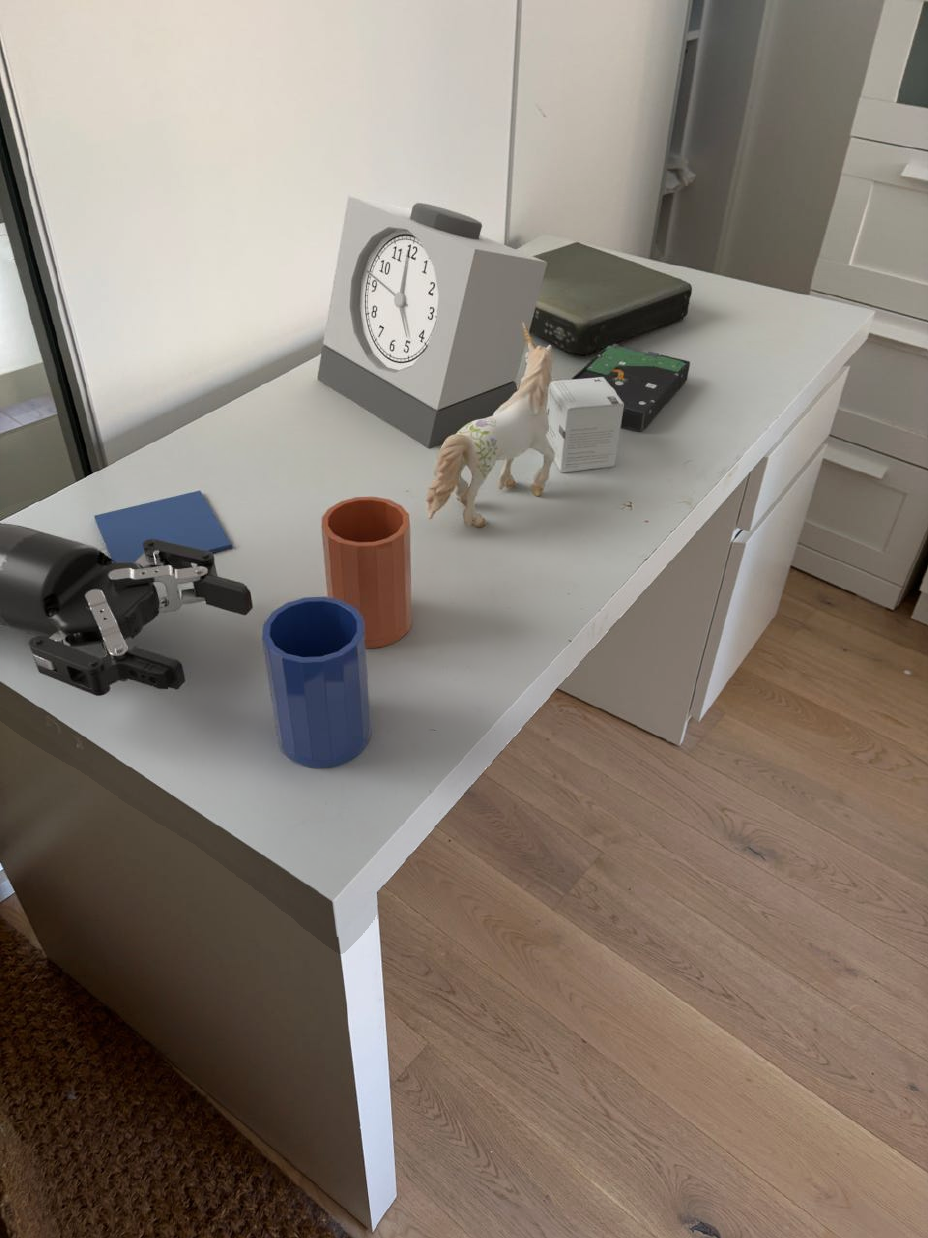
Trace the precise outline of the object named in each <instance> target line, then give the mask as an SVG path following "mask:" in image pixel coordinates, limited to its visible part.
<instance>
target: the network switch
mask: <svg viewBox="0 0 928 1238" xmlns="http://www.w3.org/2000/svg"><path fill="white" fill-rule="evenodd" d="M532 256H533V257H535V258H538V259H540V260H543V261H545V262H547V266H546V269H545V273H544V277H543V281H542V284H541V288H540V292H539V296H538V299H537V303H536V307H535V311H534V314H533V318H532V322H531V326H530V329H529V333H532V334H533V335H535V336H537V337H540V338H542V339H544V340H547V341H549V342H551V343H553V344H554V345H555V346H557V347H558V348H559V349H561V350H564V351H565V352H567V353H570V354H571V353H572V354H580V355H583V356H587V355H588V354H593V353H595V352H600V351H602V350H603V349H604V348H607V347H608V346H612V345H613V344H616V343H618V342H622V341H626V340H627V339H631V338H634V337H636V336H637V335H639V334H641V333H644V332H645V333H646V332H649V331H652V330H655V329H657V328H661V327H668V326H669V325H672V324H674V323H678V322H681V321H682V320H684V318H685V317H686V316H687V315H688V313H689V307H690V302H691V301H690V300H691V297H692V294H693V286H692V284H691V283H690V282H687V281H686V280H683V279H682V278H679V277H675V276H673V275H671V274H667V273H665V272H662V271H659V270H656V269H653V268H651V267H648V266H645V265H642V264H640V263H638V262H636V261H632V260H630V259H626V258H624V257H621V256H617V254H616V255H615V254H612V253H610V252H607V251H605V250H601V249H598V248H596V247H592V246H590V245H586V244H583V243H581V242H579V241H575V242H572V243H569V244H566V245H563V246H561V247H558V248H554V249H551V250H548V251H544V252H541V253H539V254H535V255H532Z"/></svg>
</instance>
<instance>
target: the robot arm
mask: <svg viewBox="0 0 928 1238" xmlns="http://www.w3.org/2000/svg"><path fill="white" fill-rule="evenodd" d="M143 548H144V554H143V555H142V556H141V557H140V558H139V559H138V560H137V561H136V562H116V561H113V560H112V559H111V557H110V556H108V555H107V554H106V553H104V552H103V551H102V550H100V549H98V548H97V547H95V546H92V545H90V544H86V543H82V542H79V541H75V540H73V539H68V538H66V537H61V536H58V535H55V534H51V533H47V532H44V531H40V530H38V529H33V528H30V527H27V526H22V525H18V524H10V523H3V522H0V625H1V626H4V627H7V628H10V629H14V630H16V631H20V632H23V633H26V634H29V635H32V636H34V637H32V638H31V639H30V640H29V641H28V646H29V648H30V651H31V654H32V657H33V660H34V663H35V666H36V668H37V671H38V672H39V673H40V674H41V675H44V676H47V677H49V678H52V679H54V680H57V681H59V682H61V683H63V684H67V685H69V686H71V687H74V688H76V689H79V690H81V691H83V692H86V693H89V694H90V695H91V694H92V695H94V696H97V697H100V696H101V697H102V696H104V695H107V694H108V693H109V692H110V691H111V685H113V684H115V683H117V682H118V681H120V682H128V681H134V682H137V683H140V684H143V685H145V686H146V685H147V686H150V687H153V688H155V689H158V690H169V689H173V690H179V689H180V688H181V687H182V686H183V685H184V684H185V682H186V677H185V676H186V675H185V672H184V668H183V665H182V663H181V662H180V661H179V660H178V659H177V658H173V657H171V656H167V655H165V654H161V653H158V652H155V651H152V650H149V649H145V648H142V647H139V646H136V645H134V646H133V647H132V648H131V649H130V650H129V647H128V644H127V642H126V640H128V639H133V640H134V639H135V638H136V637H137V636H138V635H139V634H140V633H141V632H142V630H143V628H144V627H145V626H146V625H147V624H148V623H150V622H152V621H153V620H155V618H157V617H158V616H159V615H160V614H163V613H164V614H165V613H170V612H177V611H179V610H180V609H181V607H182V606H183V605H188V604H195V603H202V602H205V605H207V606H211V607H214V608H218V609H221V610H225V611H228V612H231V613H234V614H238V615H242V616H247V615H248V614H249V613H250V612H251V611H252V610H253V609H254V604H253V598H252V593H251V591H250V589H249V588H248V586H247V585H246V584H245V583H243V582H240V581H236V580H233V579H232V580H231V579H229V578H226V577H222V576H219V575H218V573H217V567H216V561H215V559H216V558H215V555H214V553H212V552H209V551H205V550H200V549H196V548H192V547H187V546H183V545H178V544H174V543H170V542H165V541H161V540H157V539H148V540H146V541H144V542H143ZM192 564H196V566H193V565H192ZM154 583H162V584H163V585H164V586H165V591H166V596H163V597H159V593H158V589H157V587H156V586H155V584H154ZM187 583H188V584H189V583H192V586H193V587H192V588H186V589H180V588H179V587H178V585H181V584H187ZM97 645H100V647H101V648H102V651H103V653H104V657H101V658H100V657H98V656H96V655H93V654H90V653H88V652H85V651H83V650H80V649H77V648H82V647H89V646H97Z"/></svg>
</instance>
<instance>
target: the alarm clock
mask: <svg viewBox="0 0 928 1238" xmlns="http://www.w3.org/2000/svg"><path fill="white" fill-rule="evenodd" d="M342 225H343V226H342V232H341V237H340V243H339V249H338V253H337V254H338V255H337V260H336V266H335V272H334V278H333V284H332V290H331V294H330V302H329V307H328V311H327V312H328V313H327V318H326V325H325V330H324V336H323V342H322V344H323V345H322V346H321V352H320V359H319V366H318V372H317V377H316V378H317V380H318V381H320V382H321V383H323V384H324V385H326V386H328V387H329V388H331V389H333V390H334V391H336V392H337V393H339V394H341V395H342V396H344V397H346V398H347V399H348V400H350V401H352V402H354V403H355V404H357V405H358V406H360V407H362V408H363V409H364V410H366V411H368V412H369V413H371V414H373V415H374V416H376V417H378V418H379V419H381V420H382V421H384V422H385V423H387V424H389V425H390V426H392V427H394V428H395V429H396V430H398V431H400V432H401V433H403V434H405V435H406V436H408V437H409V438H411V439H413V440H414V441H416V442H417V443H419V444H421V445H422V446H424V447H426V448H427V449H430V448H433V447H435V446H438V445H440V444H443V443H444V441H445V440H446V439H447V438H448V437H449V436H451V435H455V434H456V433H457V432H458V431H459V430H460V429H461V428H462V427H464V426H465V425H466V424H468V423H470V422H472V421H475V420H479V419H484V418H487V417H490V416H493V414H494V412H495V411H496V410H497V409H498V408H499V407H500V406H501V405H502V404H504V403H505V402H507V401H508V400H509V399H510V398H511V397H512V395H513V394H514V393H515V392H516V391H518V387H517V383H516V382H517V381H516V380H517V378H518V375H519V370H520V367H521V363H522V359H523V356H524V352H525V348H526V345H527V342H526V339H525V335H524V332H523V327H522V323H523V322H524V323H525V325H526V326H527V329H528V332H529V329H530V326H531V322H532V318H533V314H534V311H535V307H536V303H537V299H538V296H539V292H540V288H541V284H542V281H543V277H544V273H545V269H546V266H547V262H545V261H543V260H540V259H538V258H535V257H533V256H534V255H531V254H528V253H525V252H523V251H520V250H518V249H516V248H513V247H510V246H508V245H505V244H503V243H501V242H498V241H497V240H493V239H491V238H488V237H485V236H483V235H481V232H482V228H483V223H482V222H481V221H479V220H478V219H476V218H473V217H471V216H469V215H466V214H463V213H460V212H457V211H454V210H451V209H447V208H445V207H441V206H436V205H433V204H429V203H428V204H427V203H422V202H416V203H415V204H413V206H412V207H411V208H408V207H404V206H403V207H402V206H398V205H393V204H389V203H384V202H380V201H374V200H371V199H365V198H361V197H356V196H351V195H348V197H347V202H346V206H345V212H344V219H343V224H342ZM529 333H530V332H529Z"/></svg>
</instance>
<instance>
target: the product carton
mask: <svg viewBox="0 0 928 1238" xmlns="http://www.w3.org/2000/svg"><path fill="white" fill-rule="evenodd" d="M547 394H548V395H547V400H546V410H547V413H548V420H549V430H548V432H547V434H546V438H547V440H548V442H549V444H550V446H551V447H552V449H553V450H554V453H555V458H554V460H553V462H554V463H555V465H556V467H557V470H558V471H559V472H561V473H571V472H580V471H588V470H596V469H607V468H613V467H615V466H616V461H617V460H616V459H617V453H618V446H619V440H620V434H621V428H622V427H621V421H622V414H623V408H624V403H623V402H622V400H621V399H620V398H619V396H618V395H617V393H616V391H615V390H614V389H613V388H612V387H611V386H610V385H609V383H608V382H607V381H606V380H605V378H604V377H597V378H587V379H574V380H571V379H561V380H551V383H550V385H549V386H548V389H547Z"/></svg>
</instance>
